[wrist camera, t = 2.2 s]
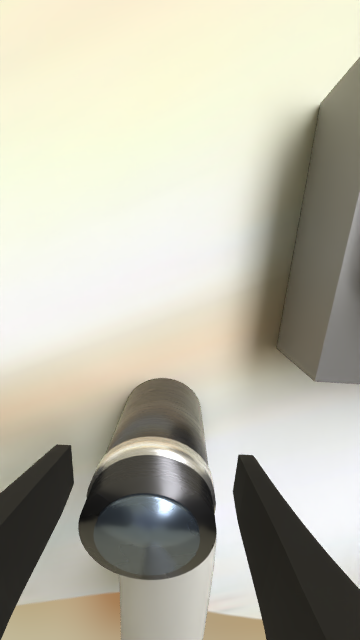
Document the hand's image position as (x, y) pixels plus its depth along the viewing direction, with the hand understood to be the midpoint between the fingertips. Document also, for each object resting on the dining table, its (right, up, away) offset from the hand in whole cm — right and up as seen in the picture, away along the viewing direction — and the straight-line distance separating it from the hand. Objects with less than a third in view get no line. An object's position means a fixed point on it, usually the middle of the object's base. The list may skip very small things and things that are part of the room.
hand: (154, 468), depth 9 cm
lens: (0, +1, +4) cm, 4 cm away
